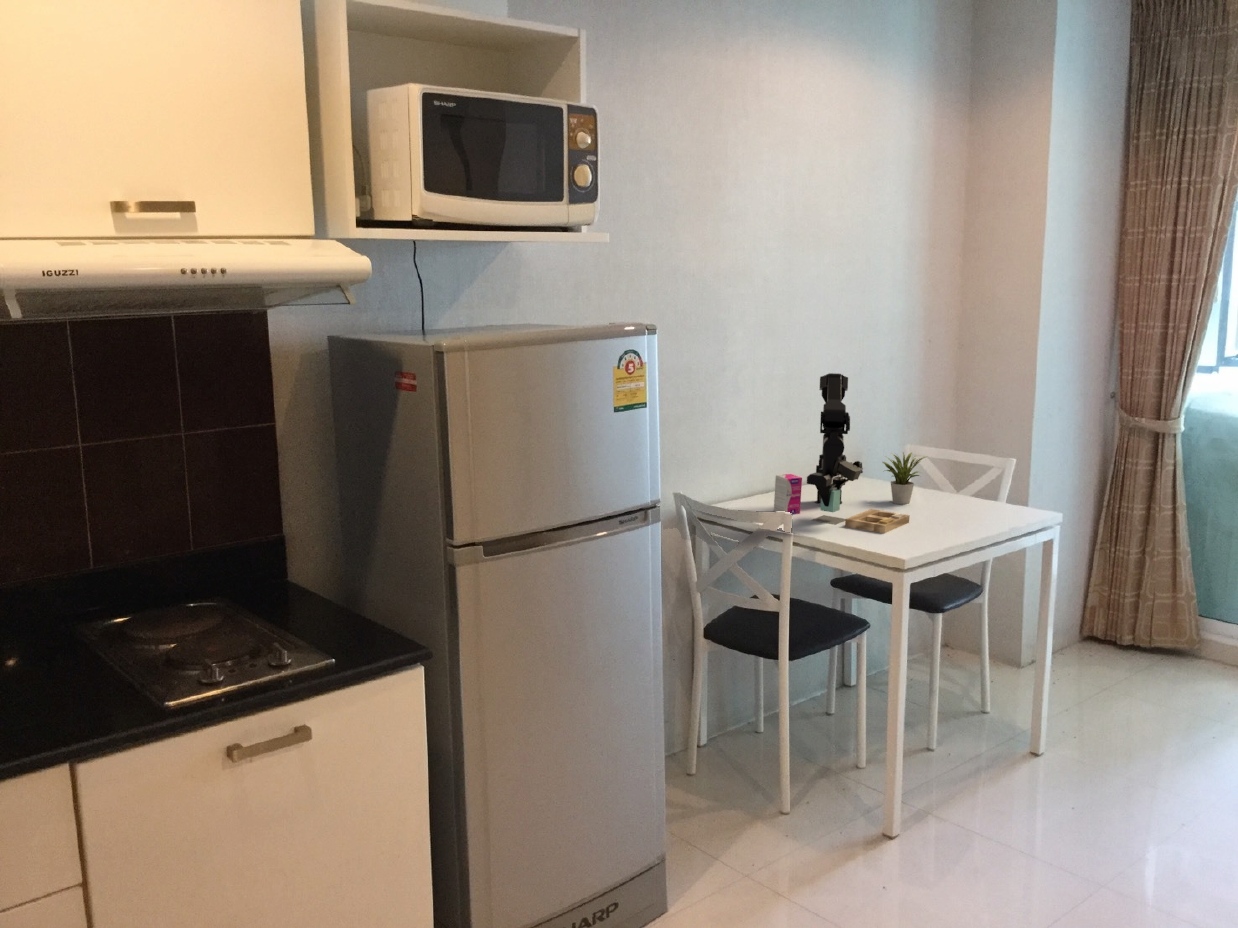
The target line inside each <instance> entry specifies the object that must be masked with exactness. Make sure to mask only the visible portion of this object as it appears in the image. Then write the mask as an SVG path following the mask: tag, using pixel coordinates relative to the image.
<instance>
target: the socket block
mask: <svg viewBox="0 0 1238 928" xmlns="http://www.w3.org/2000/svg"><path fill="white" fill-rule="evenodd" d="M910 516H911V515H909V514H904V513H898V512H891V511H884V510H879V509H873V508H870V509H868V510H864V511H862V512H860V513H858V514H855V515H852V516H849V517H847V518H844V519H845V521H844V527H846V528H852V529H858V530H863V531H867V532H875V533H881V534H887V533H889V532H890V531H891V532H892V531H893V530H896V529H898V528H900V527H902V526H904V525H907V524H910Z"/></svg>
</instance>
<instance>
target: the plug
mask: <svg viewBox="0 0 1238 928" xmlns="http://www.w3.org/2000/svg"><path fill="white" fill-rule="evenodd" d="M840 506H841V504H840V490H839V489H837V488H835V487H833V488H832V489H831V496H830V502H829V506H828V507H827V506H824V503H823V501H822V499H821V504H820V508H819V509H820V511H822V512H828V513H836V512H837V511H840V509H841V508H840Z"/></svg>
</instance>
